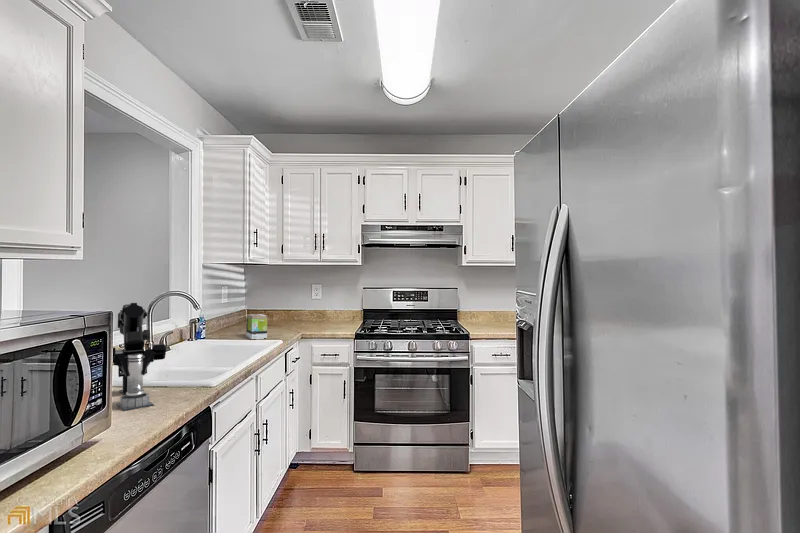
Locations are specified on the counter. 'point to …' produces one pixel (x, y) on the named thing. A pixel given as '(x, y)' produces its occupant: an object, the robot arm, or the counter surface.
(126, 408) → the sleeve
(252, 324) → the tea box
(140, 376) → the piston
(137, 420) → the counter surface
